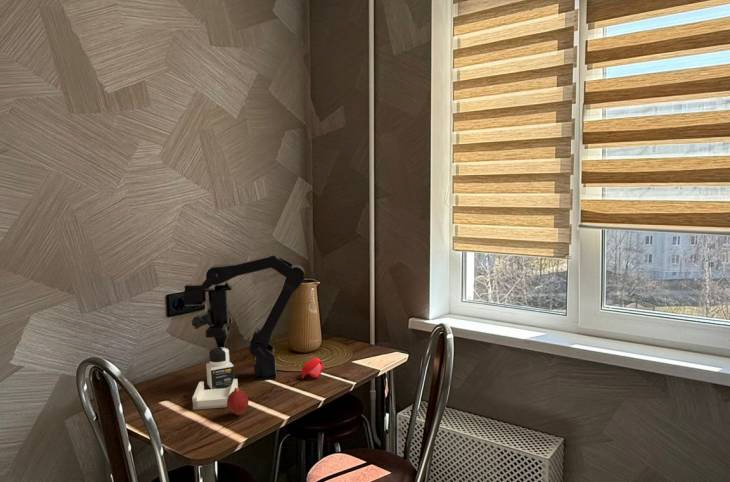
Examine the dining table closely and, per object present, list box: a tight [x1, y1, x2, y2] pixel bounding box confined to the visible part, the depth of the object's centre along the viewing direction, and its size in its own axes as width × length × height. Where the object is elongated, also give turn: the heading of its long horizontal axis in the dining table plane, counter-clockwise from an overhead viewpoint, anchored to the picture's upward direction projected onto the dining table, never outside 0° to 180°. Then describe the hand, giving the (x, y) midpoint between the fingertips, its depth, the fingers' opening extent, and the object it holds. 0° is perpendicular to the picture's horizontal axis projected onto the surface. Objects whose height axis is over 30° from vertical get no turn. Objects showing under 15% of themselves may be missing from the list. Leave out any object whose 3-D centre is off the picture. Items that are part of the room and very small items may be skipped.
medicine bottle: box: [205, 347, 235, 389], centre depth 181 cm, size 7×7×12 cm
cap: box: [301, 357, 324, 380], centre depth 187 cm, size 8×6×6 cm
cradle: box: [192, 378, 239, 411], centre depth 171 cm, size 11×13×4 cm
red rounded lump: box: [226, 387, 249, 416], centre depth 159 cm, size 6×6×8 cm
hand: (221, 351), depth 187 cm, fingers closed
